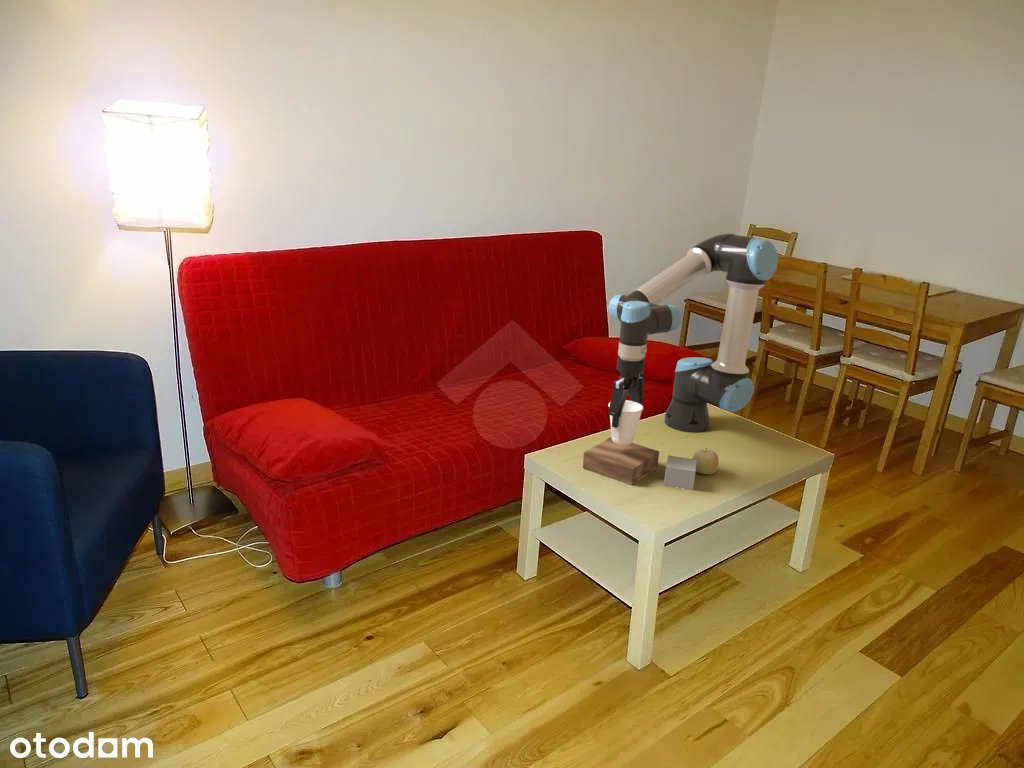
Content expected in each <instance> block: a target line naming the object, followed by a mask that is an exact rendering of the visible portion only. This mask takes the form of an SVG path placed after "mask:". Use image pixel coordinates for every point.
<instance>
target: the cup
mask: <svg viewBox="0 0 1024 768" xmlns="http://www.w3.org/2000/svg"><path fill="white" fill-rule="evenodd" d="M607 405H608V407H610V402H609V403H608V404H607ZM643 410H644V405H643V406H642V405H641V404H639V403H637V402H633V401H631V400H627V399H626V401H625V404H624V407H623V410H622V413H621V416H622V425H621V435H620V438H619V439H618V438H615V437H612V436H611V437H612V441H613V442H614V443H616V444H619V445H629V444H631V443H634V439H635V436H636V433H637V430H638V429H637V428H638V425H639V423H640V420H641V416H642V412H643ZM609 419H610V427H611V426H612V416H611V415H609Z"/></svg>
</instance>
